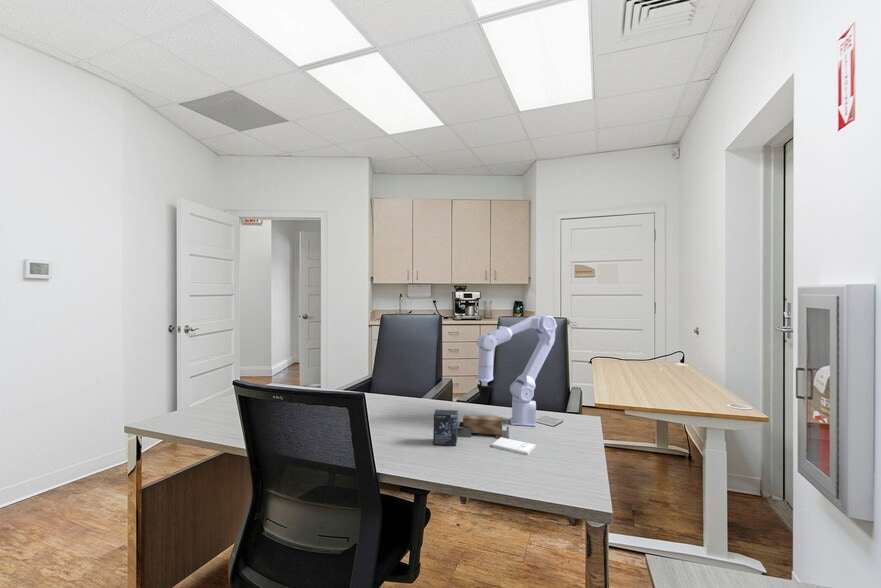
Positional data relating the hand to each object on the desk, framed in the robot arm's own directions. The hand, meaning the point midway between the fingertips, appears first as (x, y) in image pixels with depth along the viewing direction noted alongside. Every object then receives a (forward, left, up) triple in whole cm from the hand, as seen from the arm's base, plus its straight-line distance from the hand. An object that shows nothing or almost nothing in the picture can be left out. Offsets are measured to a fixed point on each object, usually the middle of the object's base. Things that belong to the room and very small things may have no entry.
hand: (485, 400), depth 160 cm
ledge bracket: (-7, +11, -9) cm, 16 cm away
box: (+12, +22, -10) cm, 27 cm away
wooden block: (0, +11, -8) cm, 14 cm away
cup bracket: (+6, +11, -9) cm, 16 cm away
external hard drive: (-11, +21, -10) cm, 26 cm away
